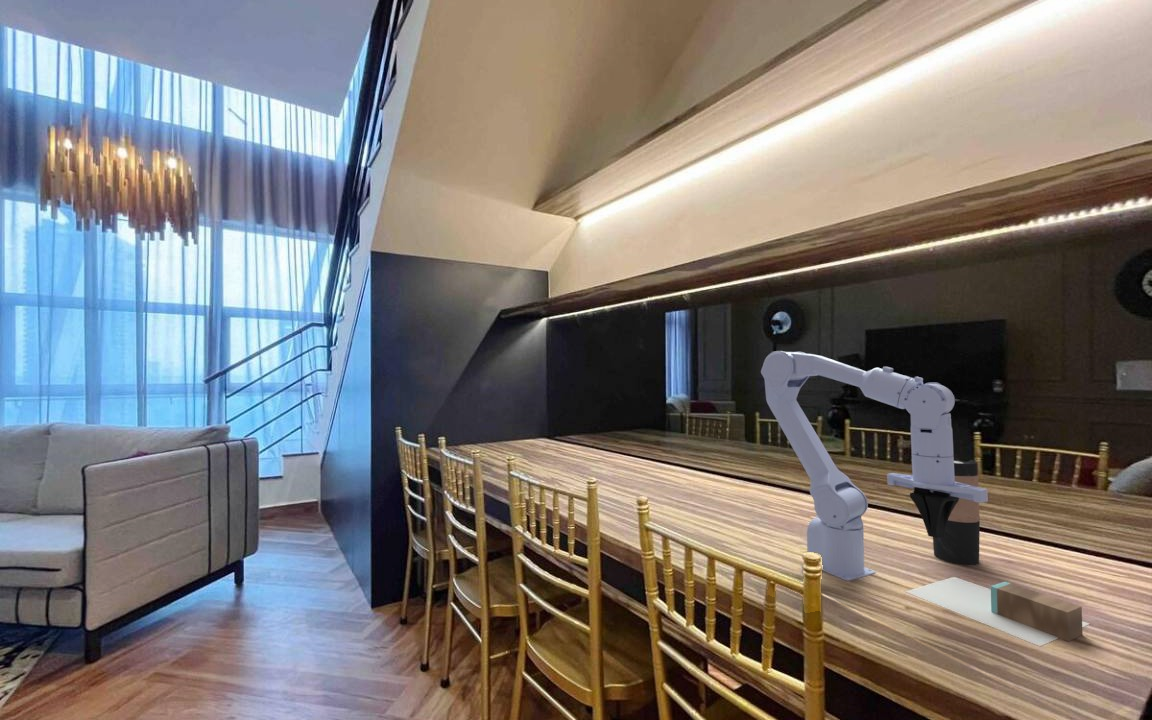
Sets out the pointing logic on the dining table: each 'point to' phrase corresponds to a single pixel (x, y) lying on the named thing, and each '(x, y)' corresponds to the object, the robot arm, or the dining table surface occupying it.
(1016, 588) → the walnut block
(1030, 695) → the dining table surface
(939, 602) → the grey mat
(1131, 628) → the dining table surface
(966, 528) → the travel mug
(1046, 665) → the dining table surface
